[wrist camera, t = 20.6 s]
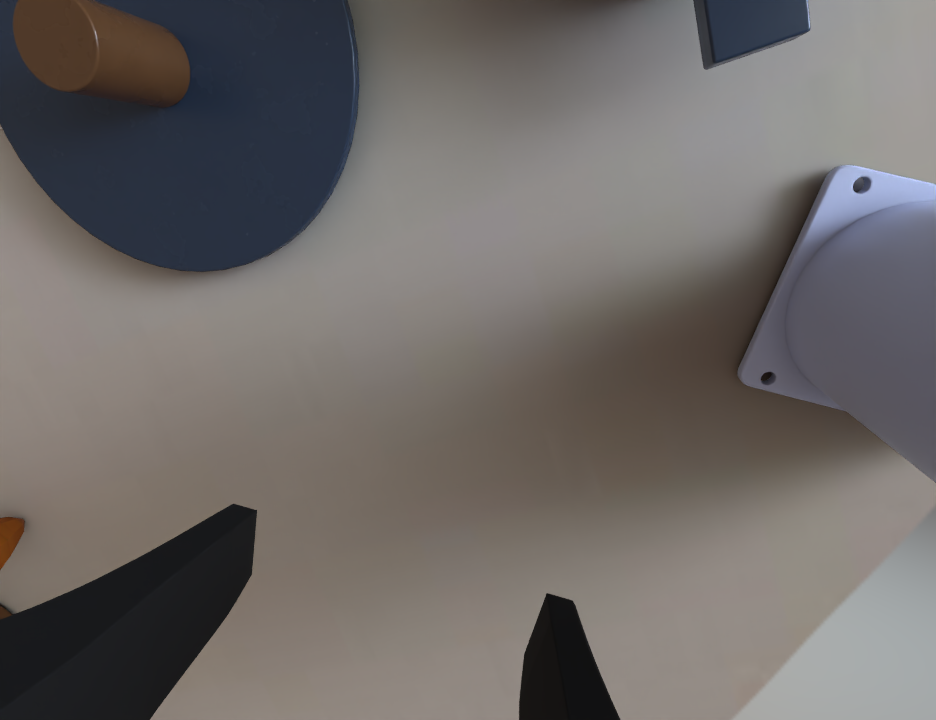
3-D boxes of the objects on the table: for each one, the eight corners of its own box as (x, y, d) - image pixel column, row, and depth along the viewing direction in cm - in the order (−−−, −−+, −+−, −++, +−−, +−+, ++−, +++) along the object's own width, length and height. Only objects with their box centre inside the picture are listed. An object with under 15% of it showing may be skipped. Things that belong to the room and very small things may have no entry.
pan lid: (263, -277, 15) (134, -480, 10) (420, 207, 19) (379, 219, 15) (-77, -70, 18) (-291, -152, 14) (120, 305, 23) (7, 341, 18)
